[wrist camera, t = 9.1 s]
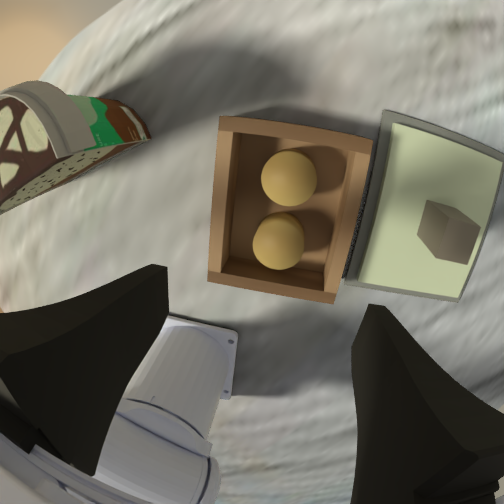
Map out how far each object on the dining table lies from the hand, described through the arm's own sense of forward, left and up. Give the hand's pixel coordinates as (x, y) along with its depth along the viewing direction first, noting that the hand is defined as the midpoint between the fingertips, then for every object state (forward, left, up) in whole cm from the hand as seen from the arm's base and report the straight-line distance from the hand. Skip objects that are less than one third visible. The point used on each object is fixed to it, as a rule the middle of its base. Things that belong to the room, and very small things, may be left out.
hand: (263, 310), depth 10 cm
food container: (+5, +15, -10) cm, 19 cm away
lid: (+2, -10, -10) cm, 14 cm away
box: (+1, 0, -10) cm, 10 cm away
